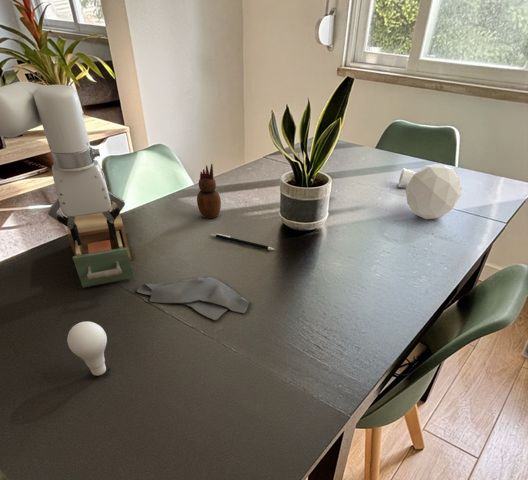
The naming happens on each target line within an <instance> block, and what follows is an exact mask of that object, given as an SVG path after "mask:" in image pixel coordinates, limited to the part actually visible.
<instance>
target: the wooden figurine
mask: <svg viewBox="0 0 528 480" xmlns="http://www.w3.org/2000/svg"><path fill="white" fill-rule="evenodd" d="M198 188H199V191H198V193H197V196H196V204H197V208H198V211H199V213H200V215H201V216H202V217H203V218H205V219H215V218H217V217H218V216H220V215H219V214H220V213H221V208H222V207H221V206H222V200H221V195H220V193H219V192H218V191H217V190H216V188H217V183H216V180H215V178H214V166H213V163H211V164H210V169H209V167H208V165H207V164H206V165H205V169H204V168H203V169H202V171H200V173H199V180H198Z"/></svg>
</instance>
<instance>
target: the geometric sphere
mask: <svg viewBox="0 0 528 480" xmlns="http://www.w3.org/2000/svg"><path fill="white" fill-rule="evenodd" d="M416 172H417V173H415V174H414V175H413V177H412V179H411V180H410V182H409V184H408V186H407V187H405V195H406V203H407V205H408V208H409V209H410V211H411V213H412V214H413V215H415V216H417V217H420V218H422V219H423V220H434V219H440V218H443V217H444V216H446V215H447V214H448V213H449V212H451V211H452V210H453V209H454V207H455V206H456V204H457V203H458V201H459V200H460V198H461V196H462V191H461V190H462V189H461V188H462V187H461V180H460V177H459V175H458V173H457V172H456V170H455V169H454V168H452V167H450V166H448V165H445V164H443V163H440V162H439V163H434V164H428V165H424V166H422V167H421V168H420V169H419V170H417V171H416Z"/></svg>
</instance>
